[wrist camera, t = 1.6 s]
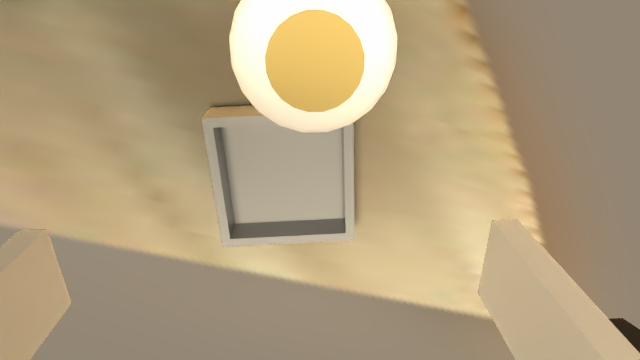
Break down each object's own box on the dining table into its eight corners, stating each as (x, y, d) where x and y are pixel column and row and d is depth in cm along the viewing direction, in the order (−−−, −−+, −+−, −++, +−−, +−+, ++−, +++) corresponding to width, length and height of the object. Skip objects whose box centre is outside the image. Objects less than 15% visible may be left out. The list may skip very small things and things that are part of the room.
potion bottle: (237, 29, 33) (169, 65, 17) (309, -56, 31) (312, -110, 14) (312, 100, 36) (316, 193, 19) (384, 27, 33) (458, 61, 17)
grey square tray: (210, 107, 36) (201, 118, 32) (349, 100, 36) (353, 111, 32) (229, 227, 41) (222, 247, 37) (350, 220, 41) (354, 240, 37)
